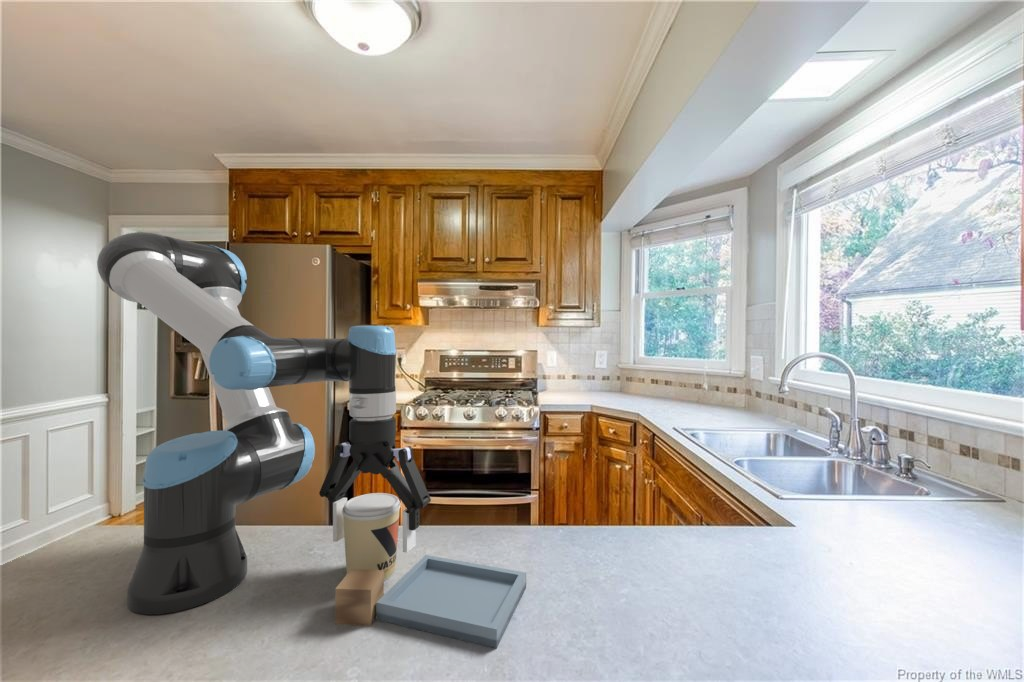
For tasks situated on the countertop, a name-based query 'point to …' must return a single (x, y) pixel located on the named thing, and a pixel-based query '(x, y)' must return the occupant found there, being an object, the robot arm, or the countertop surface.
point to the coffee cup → (371, 532)
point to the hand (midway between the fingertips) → (373, 543)
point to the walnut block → (358, 597)
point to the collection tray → (454, 599)
